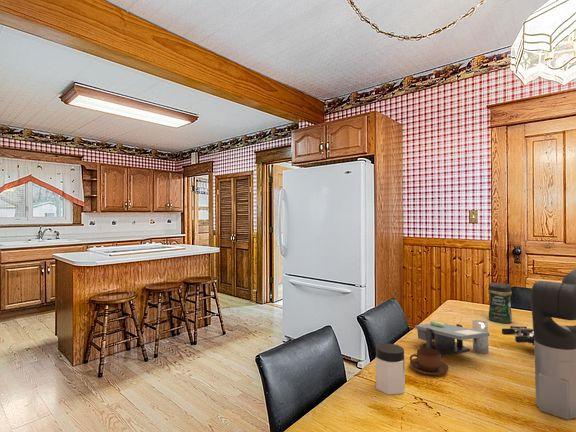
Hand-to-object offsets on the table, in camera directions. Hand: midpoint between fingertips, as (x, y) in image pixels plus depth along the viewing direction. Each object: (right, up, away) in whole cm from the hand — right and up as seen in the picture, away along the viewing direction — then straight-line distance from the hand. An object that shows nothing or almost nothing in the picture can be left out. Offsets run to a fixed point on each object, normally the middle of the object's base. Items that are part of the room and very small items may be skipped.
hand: (508, 335), depth 129 cm
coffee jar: (+20, -6, +37) cm, 43 cm away
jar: (-53, -7, -27) cm, 60 cm away
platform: (-23, -3, -1) cm, 23 cm away
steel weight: (-11, -6, 0) cm, 12 cm away
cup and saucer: (-36, -7, -15) cm, 40 cm away
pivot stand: (-23, -6, +2) cm, 24 cm away
